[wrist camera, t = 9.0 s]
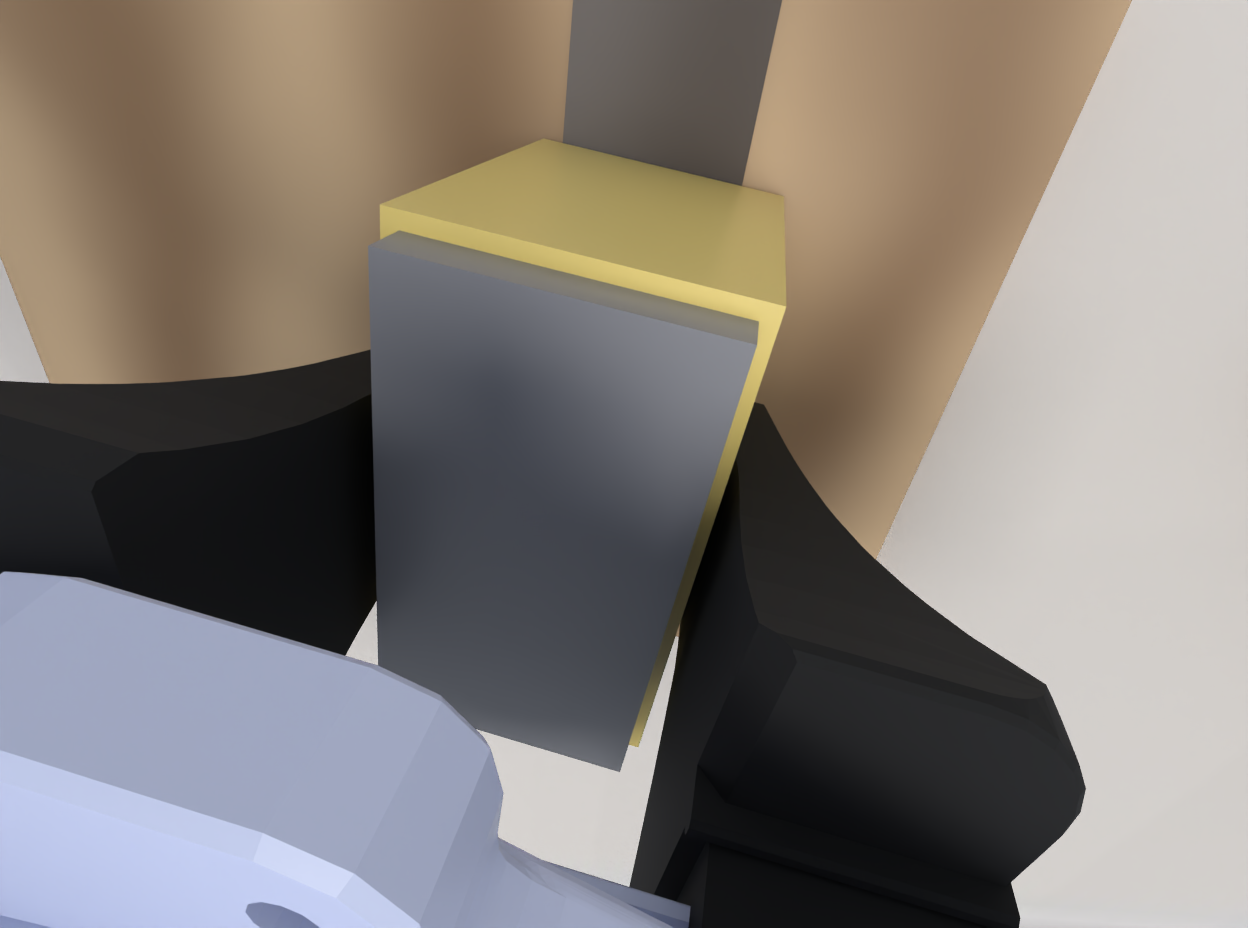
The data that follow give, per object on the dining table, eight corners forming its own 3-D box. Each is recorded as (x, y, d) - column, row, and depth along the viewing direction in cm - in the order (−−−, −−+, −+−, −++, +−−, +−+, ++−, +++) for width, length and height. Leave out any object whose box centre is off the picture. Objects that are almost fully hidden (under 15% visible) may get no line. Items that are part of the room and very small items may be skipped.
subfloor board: (122, 473, 19) (85, 498, 18) (-114, -198, 11) (-202, -220, 10) (821, 642, 17) (824, 680, 16) (1111, -19, 10) (1150, -24, 9)
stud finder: (505, 482, 15) (366, 704, 10) (543, 138, 11) (346, 217, 6) (681, 530, 15) (630, 783, 10) (784, 196, 11) (786, 328, 6)
